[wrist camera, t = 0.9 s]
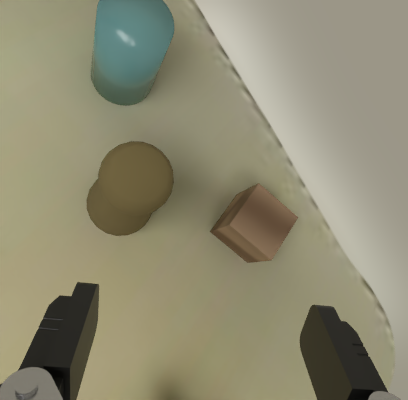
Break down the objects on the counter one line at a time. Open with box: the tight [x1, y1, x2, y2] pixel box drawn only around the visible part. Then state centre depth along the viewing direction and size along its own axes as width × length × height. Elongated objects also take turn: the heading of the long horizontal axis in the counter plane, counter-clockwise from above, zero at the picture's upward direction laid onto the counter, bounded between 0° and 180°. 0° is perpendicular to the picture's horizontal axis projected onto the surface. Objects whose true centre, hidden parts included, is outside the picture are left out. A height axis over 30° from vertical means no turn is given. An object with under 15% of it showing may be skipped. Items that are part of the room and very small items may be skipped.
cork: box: [87, 142, 174, 236], centre depth 30 cm, size 6×6×11 cm
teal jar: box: [91, 0, 174, 105], centre depth 33 cm, size 6×6×9 cm
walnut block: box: [210, 183, 298, 263], centre depth 36 cm, size 5×5×5 cm
